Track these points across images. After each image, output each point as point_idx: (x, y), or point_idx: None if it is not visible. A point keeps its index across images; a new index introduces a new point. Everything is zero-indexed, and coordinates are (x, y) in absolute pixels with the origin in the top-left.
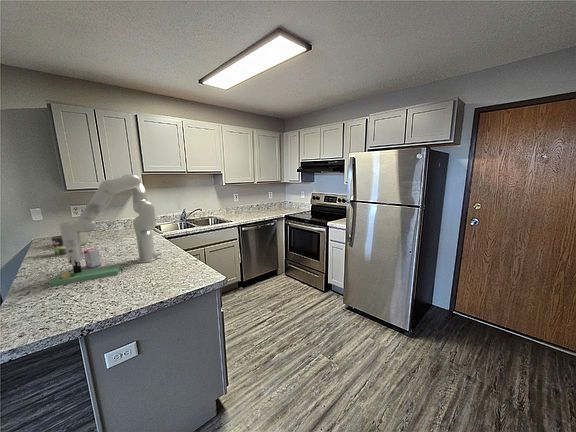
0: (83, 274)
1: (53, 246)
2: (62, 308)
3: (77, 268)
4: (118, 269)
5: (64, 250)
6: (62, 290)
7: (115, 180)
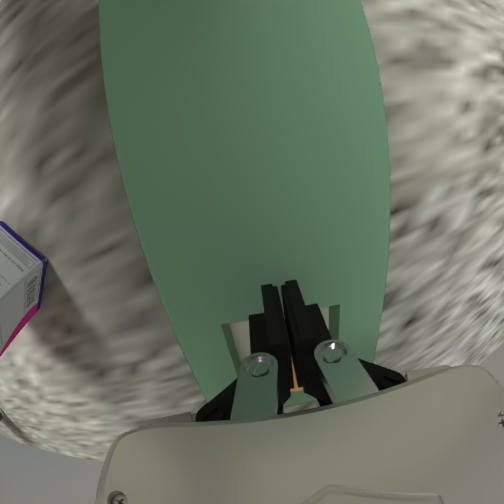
0: (322, 235)
1: None
2: None
3: (326, 335)
4: None
5: None
6: (460, 273)
7: None
